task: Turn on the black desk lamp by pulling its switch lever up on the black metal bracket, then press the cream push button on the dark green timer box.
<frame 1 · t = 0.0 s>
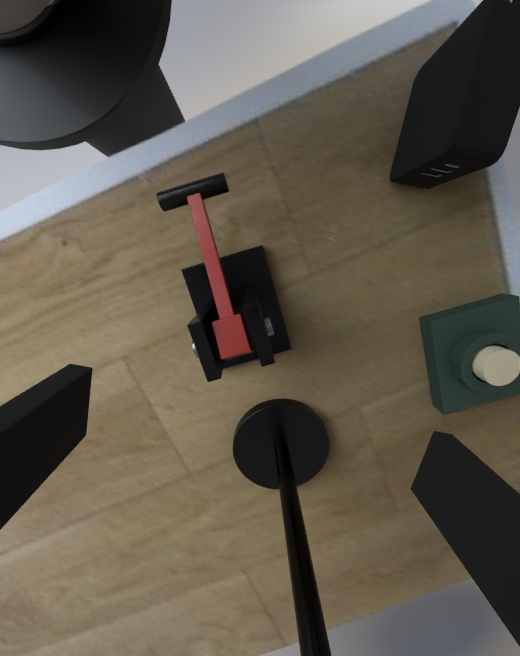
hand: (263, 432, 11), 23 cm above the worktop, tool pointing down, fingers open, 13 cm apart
switch lever: (214, 266, 23), point 10 cm above the worktop, hinge at -20.0°
electronic device: (418, 135, 30), on the worktop
desk lamp: (280, 440, 38), on the worktop
timer button: (496, 365, 32), point 4 cm above the worktop, slide at 0.1 cm
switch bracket: (238, 309, 34), on the worktop
timer box: (466, 352, 36), on the worktop
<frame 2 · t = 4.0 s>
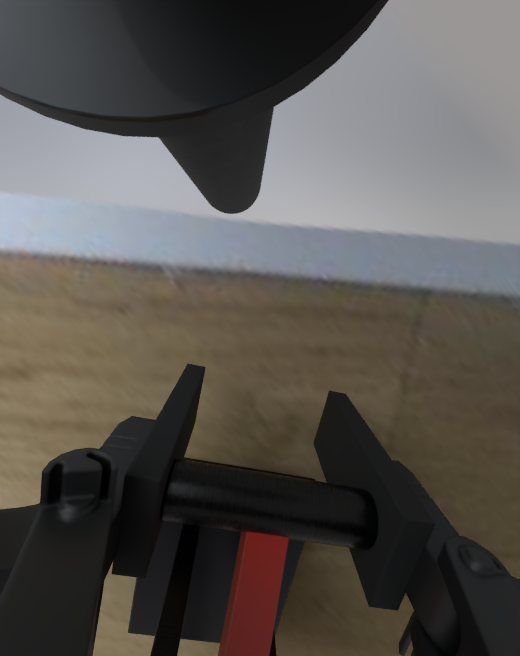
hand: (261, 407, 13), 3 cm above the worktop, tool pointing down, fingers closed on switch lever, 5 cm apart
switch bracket: (220, 548, 18), on the worktop
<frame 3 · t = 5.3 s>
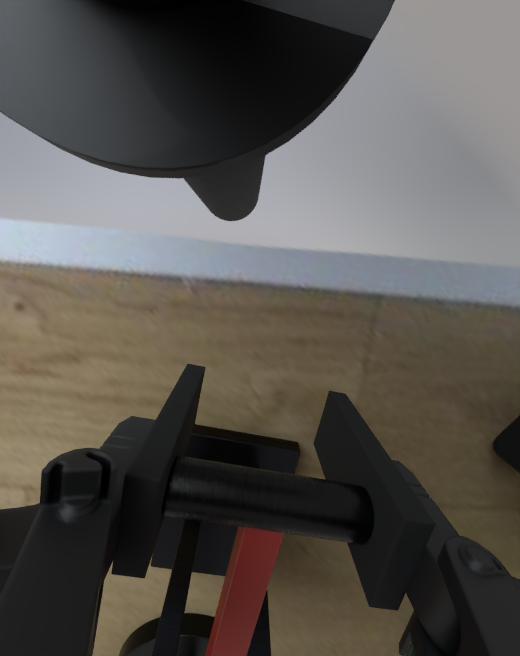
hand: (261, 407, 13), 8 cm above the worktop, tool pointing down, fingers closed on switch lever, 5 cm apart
switch lever: (225, 650, 10), point 12 cm above the worktop, hinge at 2.4°, touching gripper
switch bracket: (223, 499, 23), on the worktop
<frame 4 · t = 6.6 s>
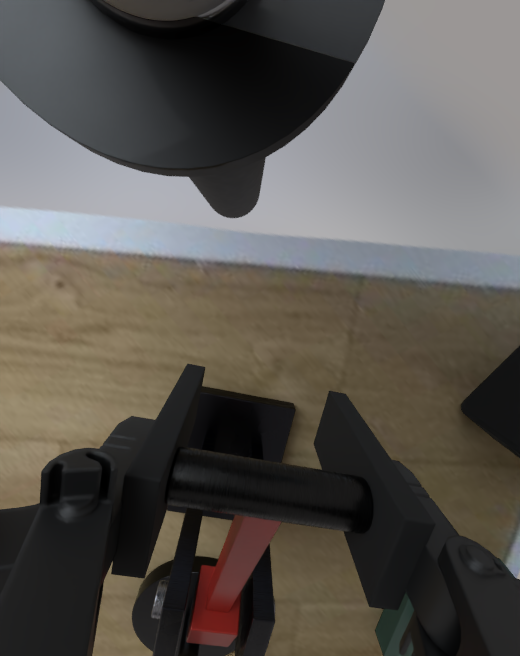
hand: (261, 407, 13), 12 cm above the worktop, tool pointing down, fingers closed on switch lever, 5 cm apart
switch lever: (232, 567, 12), point 14 cm above the worktop, hinge at 21.4°, touching gripper
electronic device: (511, 378, 26), on the worktop
desk lamp: (196, 601, 31), on the worktop
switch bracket: (229, 453, 27), on the worktop
timer box: (435, 595, 32), on the worktop
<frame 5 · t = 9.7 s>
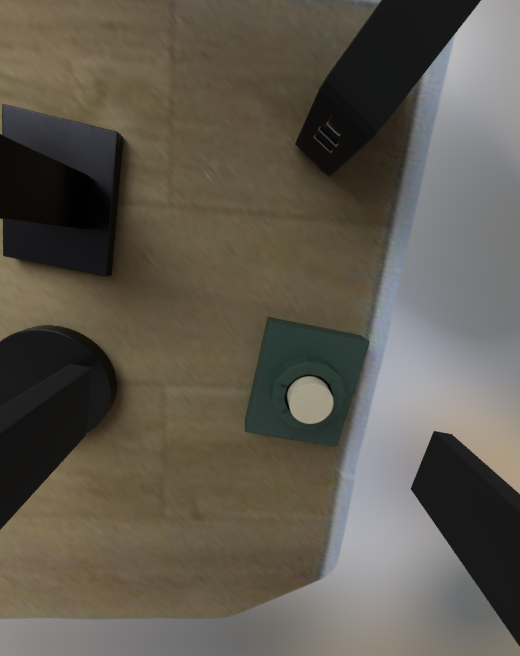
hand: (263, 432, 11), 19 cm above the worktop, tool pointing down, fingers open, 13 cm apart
electronic device: (347, 114, 26), on the worktop
desk lamp: (58, 380, 31), on the worktop
timer button: (309, 399, 27), point 4 cm above the worktop, slide at 0.1 cm
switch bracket: (66, 198, 26), on the worktop
timer box: (301, 379, 32), on the worktop
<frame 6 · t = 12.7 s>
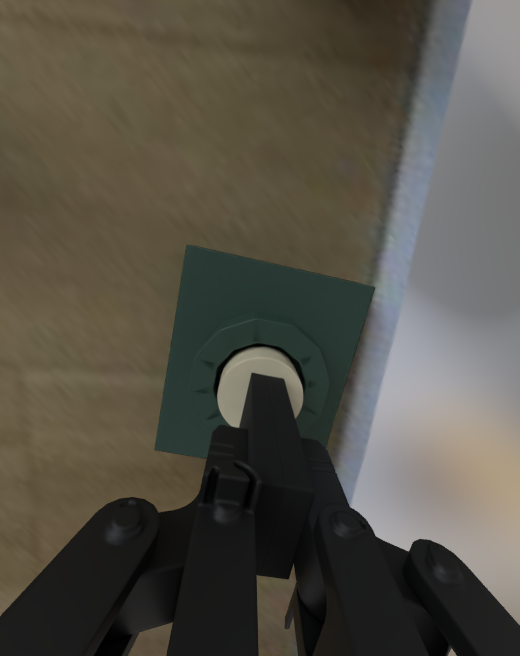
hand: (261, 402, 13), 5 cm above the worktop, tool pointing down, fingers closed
timer button: (259, 389, 14), point 4 cm above the worktop, slide at -0.1 cm, touching gripper
timer box: (257, 359, 19), on the worktop
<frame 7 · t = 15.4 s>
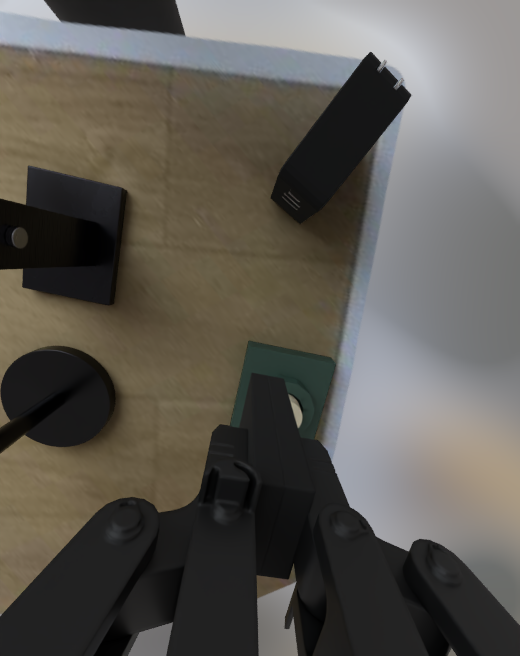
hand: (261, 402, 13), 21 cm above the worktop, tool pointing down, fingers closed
electronic device: (315, 173, 31), on the worktop
desk lamp: (64, 394, 35), on the worktop
timer button: (282, 414, 32), point 4 cm above the worktop, slide at 0.1 cm
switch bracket: (77, 239, 31), on the worktop
timer box: (278, 395, 36), on the worktop
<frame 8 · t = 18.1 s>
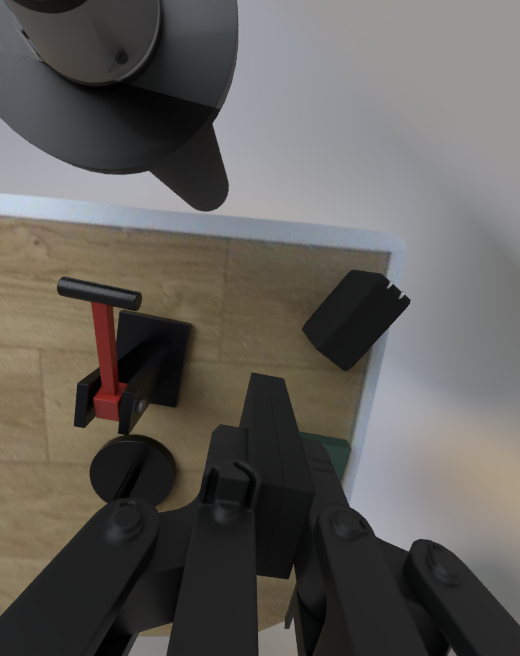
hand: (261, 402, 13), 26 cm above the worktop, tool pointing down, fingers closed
switch lever: (107, 357, 25), point 14 cm above the worktop, hinge at 21.4°
electronic device: (336, 308, 40), on the worktop
desk lamp: (135, 469, 44), on the worktop
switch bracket: (151, 358, 40), on the worktop
timer box: (304, 468, 45), on the worktop
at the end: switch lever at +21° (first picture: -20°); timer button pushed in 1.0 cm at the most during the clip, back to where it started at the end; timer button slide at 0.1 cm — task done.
